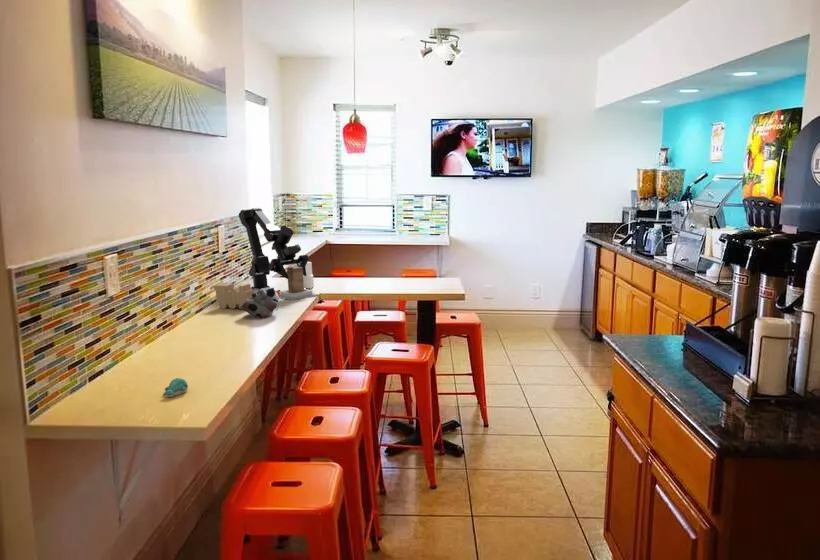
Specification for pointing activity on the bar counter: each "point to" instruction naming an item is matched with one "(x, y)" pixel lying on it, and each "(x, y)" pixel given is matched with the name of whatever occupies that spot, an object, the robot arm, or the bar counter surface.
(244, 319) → the bar counter surface
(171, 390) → the whale figurine
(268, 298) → the lucky cat figurine
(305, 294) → the bay tray
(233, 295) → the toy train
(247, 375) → the bar counter surface
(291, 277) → the tapered wooden block
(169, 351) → the bar counter surface
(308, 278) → the cylinder with rectangular tab
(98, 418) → the bar counter surface
